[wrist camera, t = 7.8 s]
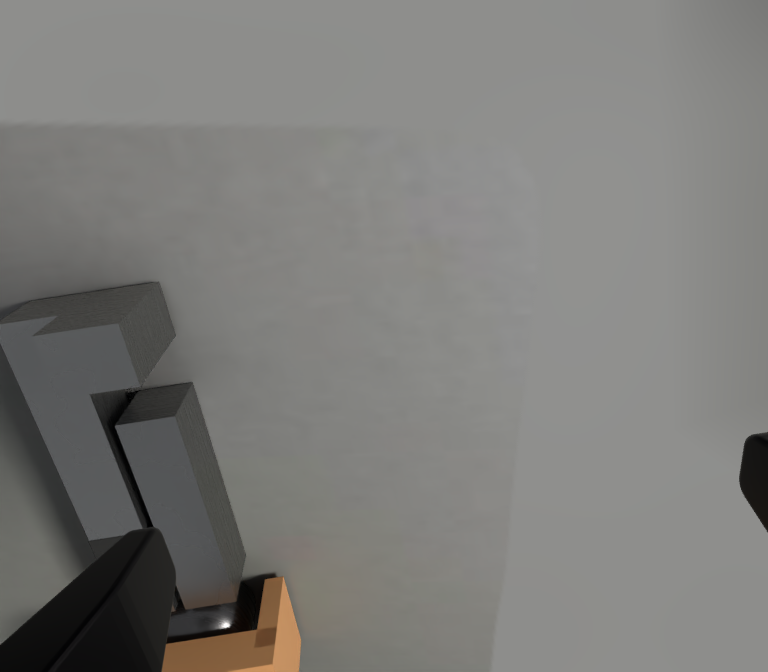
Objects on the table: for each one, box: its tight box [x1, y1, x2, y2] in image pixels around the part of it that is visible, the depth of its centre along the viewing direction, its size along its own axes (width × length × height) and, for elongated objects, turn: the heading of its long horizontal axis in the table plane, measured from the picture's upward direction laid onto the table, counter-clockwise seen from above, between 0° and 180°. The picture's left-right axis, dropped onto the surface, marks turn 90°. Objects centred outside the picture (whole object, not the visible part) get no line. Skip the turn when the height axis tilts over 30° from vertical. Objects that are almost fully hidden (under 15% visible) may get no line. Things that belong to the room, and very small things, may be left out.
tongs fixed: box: [115, 383, 256, 644], centre depth 22 cm, size 13×4×2 cm, turn 8°
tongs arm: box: [0, 282, 180, 612], centre depth 20 cm, size 12×4×4 cm, turn 8°
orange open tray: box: [162, 577, 301, 672], centre depth 23 cm, size 4×7×4 cm, turn 98°
